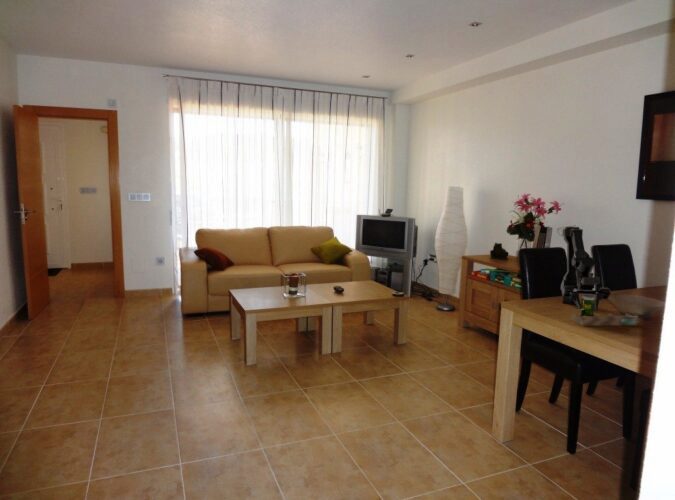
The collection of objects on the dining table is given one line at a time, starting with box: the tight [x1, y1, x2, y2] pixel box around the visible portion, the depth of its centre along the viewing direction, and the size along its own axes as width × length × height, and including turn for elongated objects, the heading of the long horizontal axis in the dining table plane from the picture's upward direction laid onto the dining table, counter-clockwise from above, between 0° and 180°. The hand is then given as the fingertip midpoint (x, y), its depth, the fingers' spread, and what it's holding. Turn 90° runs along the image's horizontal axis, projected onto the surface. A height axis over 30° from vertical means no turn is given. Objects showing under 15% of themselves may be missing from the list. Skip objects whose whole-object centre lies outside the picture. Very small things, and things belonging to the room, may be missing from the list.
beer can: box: [579, 294, 595, 317], centre depth 204 cm, size 5×5×12 cm
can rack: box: [571, 313, 639, 327], centre depth 204 cm, size 24×9×4 cm, turn 89°
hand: (588, 309), depth 202 cm, fingers open, 6 cm apart
